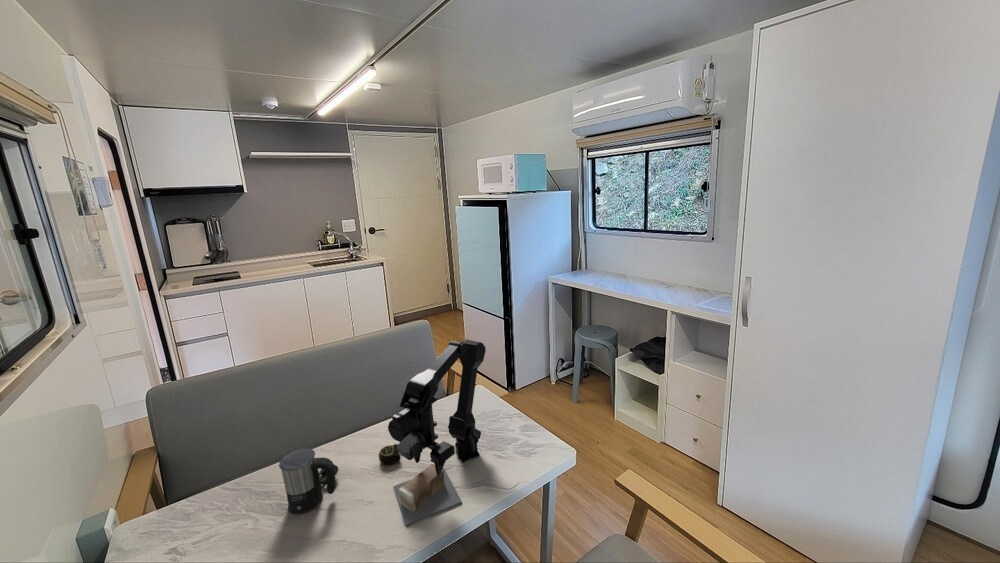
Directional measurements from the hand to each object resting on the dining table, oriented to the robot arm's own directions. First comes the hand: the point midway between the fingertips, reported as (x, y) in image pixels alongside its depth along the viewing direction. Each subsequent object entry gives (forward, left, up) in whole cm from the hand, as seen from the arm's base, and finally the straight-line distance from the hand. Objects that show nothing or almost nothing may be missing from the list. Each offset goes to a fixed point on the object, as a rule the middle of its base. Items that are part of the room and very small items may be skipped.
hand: (428, 468), depth 112 cm
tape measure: (+7, -20, -8) cm, 23 cm away
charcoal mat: (+2, +2, -8) cm, 8 cm away
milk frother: (+31, -17, -8) cm, 36 cm away
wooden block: (-3, -1, -4) cm, 6 cm away
